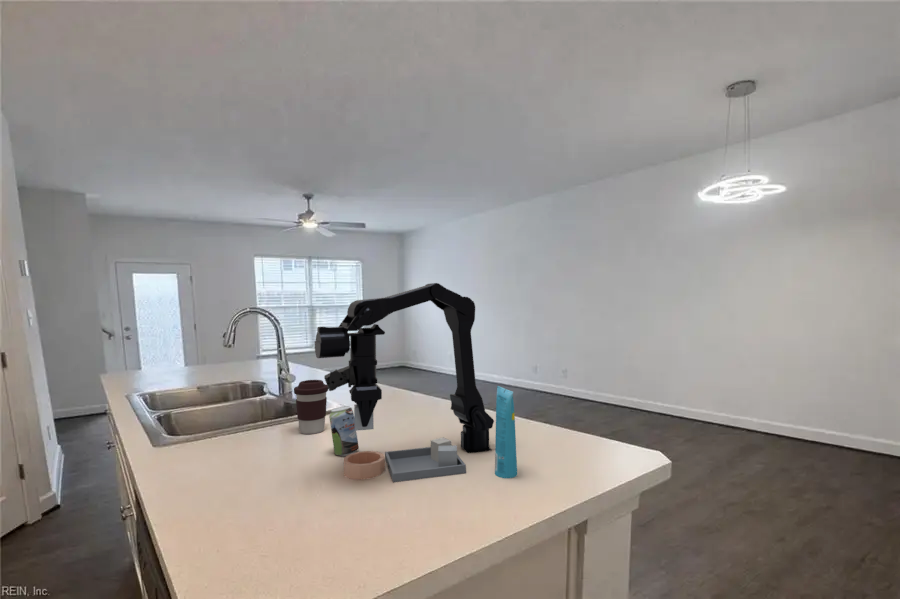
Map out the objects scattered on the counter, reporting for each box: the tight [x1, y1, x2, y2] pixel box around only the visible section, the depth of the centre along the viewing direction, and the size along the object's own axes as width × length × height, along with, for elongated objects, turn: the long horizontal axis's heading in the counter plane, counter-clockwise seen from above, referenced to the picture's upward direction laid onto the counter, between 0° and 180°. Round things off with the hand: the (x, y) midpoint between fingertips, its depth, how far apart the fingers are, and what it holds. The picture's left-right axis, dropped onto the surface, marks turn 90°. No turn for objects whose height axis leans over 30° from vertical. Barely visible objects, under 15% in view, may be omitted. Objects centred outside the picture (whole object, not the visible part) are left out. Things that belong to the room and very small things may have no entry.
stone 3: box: [438, 444, 458, 467], centre depth 100 cm, size 4×4×5 cm
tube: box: [494, 385, 518, 479], centre depth 97 cm, size 7×5×19 cm, turn 26°
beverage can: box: [329, 405, 359, 457], centre depth 112 cm, size 6×7×12 cm
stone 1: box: [353, 403, 375, 432], centre depth 99 cm, size 4×4×5 cm
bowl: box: [343, 450, 386, 481], centre depth 100 cm, size 9×9×4 cm
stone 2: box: [430, 436, 452, 462], centre depth 106 cm, size 4×3×4 cm
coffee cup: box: [293, 379, 329, 435], centre depth 133 cm, size 10×10×15 cm
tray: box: [384, 446, 467, 483], centre depth 102 cm, size 16×14×2 cm
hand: (363, 424), depth 99 cm, fingers closed on stone 1, 4 cm apart
